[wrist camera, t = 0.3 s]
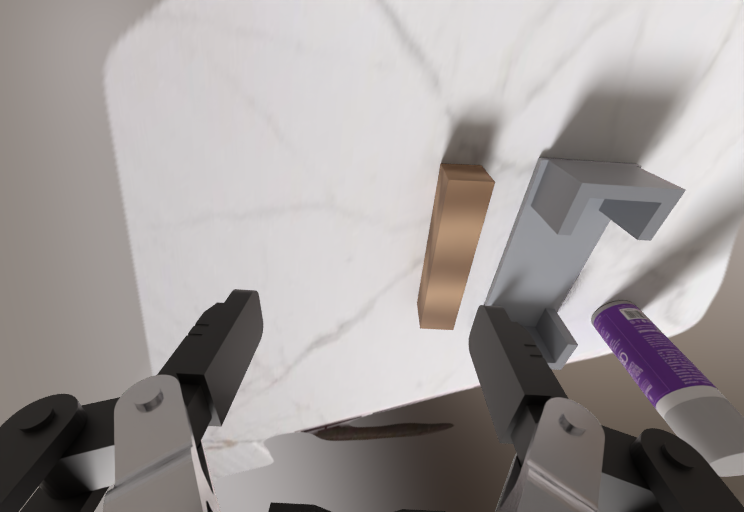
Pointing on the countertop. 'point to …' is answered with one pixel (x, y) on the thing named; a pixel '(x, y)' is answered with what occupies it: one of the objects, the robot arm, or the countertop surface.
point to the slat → (452, 242)
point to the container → (674, 386)
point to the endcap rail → (570, 238)
